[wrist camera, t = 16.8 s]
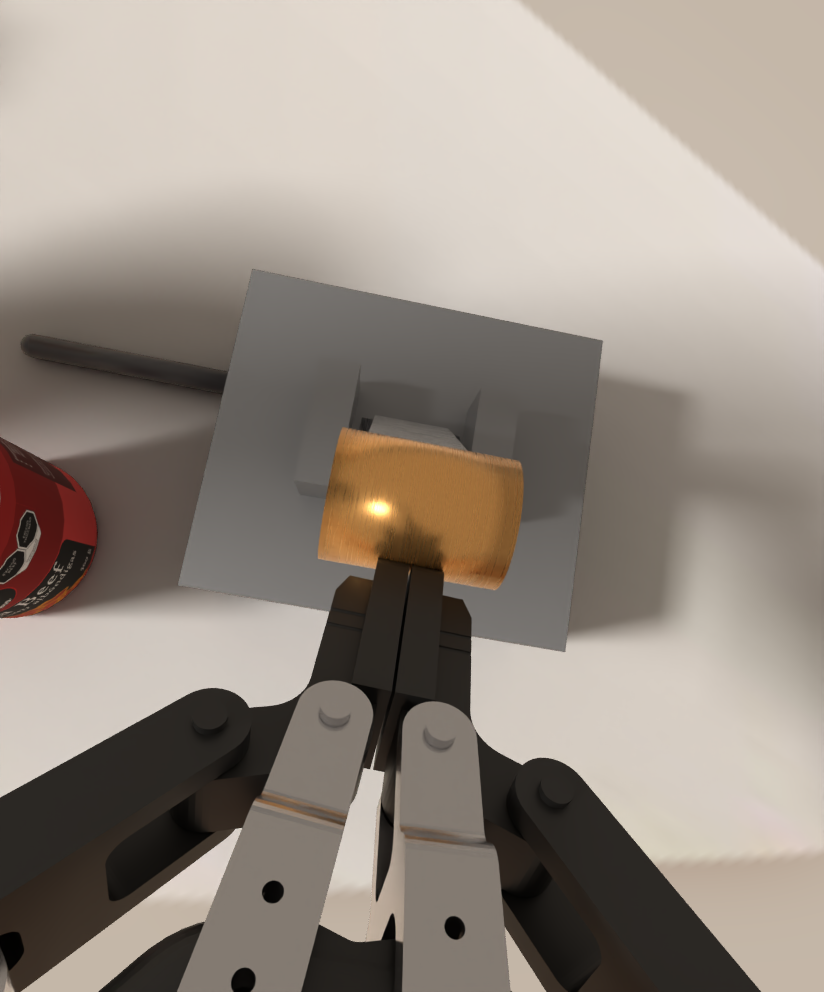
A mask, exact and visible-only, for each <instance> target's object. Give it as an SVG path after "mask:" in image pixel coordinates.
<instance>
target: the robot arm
mask: <svg viewBox="0 0 824 992" xmlns="http://www.w3.org/2000/svg"><path fill="white" fill-rule="evenodd" d="M409 568H410V564H406V563H401V562H396V561H391V560H387V559H382V558H378V561H377V565H376V569H375V574H374V578H373V580H369V579H364V578H360V577H355V576H351V575H350V576H349V577H348V578H347V579H346V580H345V581H344V582H343V583H342V584H341V585H340V586H339V587H338V588H337V589H336V591H335V594H334V598H333V601H332V605H331V609H330V612H329V616H328V619H327V623H326V626H325V630H324V633H323V637H322V640H321V644H320V648H319V651H318V655H317V658H316V662H315V665H314V669H313V672H312V676H311V679H310V682H309V684H308V685H307V687H306V688H305V689H304V691H303V692H302V693H301V694H299V695H298V696H297V697H295V698H294V699H292V700H290V701H288V702H285V703H283V704H279V705H274V706H266V707H254V708H249V707H248V705H247V704H246V702H245V701H244V700H243V699H242V698H241V697H240V696H238V695H237V694H235V693H233V692H231V691H228V690H224V689H218V688H208V689H202V690H198V691H195V692H192V693H190V694H188V695H186V696H184V697H183V698H181V699H179V700H177V701H175V702H174V703H172V704H170V705H168V706H166V707H164V708H163V709H161V710H159V711H157V712H155V713H154V714H152V715H150V716H148V717H146V718H144V719H143V720H141V721H139V722H137V723H135V724H133V725H132V726H130V727H128V728H126V729H124V730H123V731H121V732H119V733H117V734H115V735H113V736H112V737H110V738H108V739H106V740H104V741H103V742H101V743H99V744H97V745H95V746H93V747H92V748H90V749H88V750H86V751H84V752H83V753H81V754H79V755H77V756H75V757H73V758H72V759H70V760H68V761H66V762H64V763H63V764H61V765H59V766H57V767H55V768H53V769H52V770H50V771H48V772H46V773H44V774H43V775H41V776H39V777H37V778H35V779H33V780H32V781H30V782H28V783H26V784H24V785H22V786H21V787H19V788H17V789H15V790H13V791H12V792H10V793H8V794H6V795H4V796H2V797H1V798H0V992H21V991H22V990H23V989H25V988H26V987H27V986H29V985H30V984H32V983H33V982H34V981H36V980H37V979H38V978H40V977H41V976H42V975H44V974H45V973H46V972H48V971H49V970H50V969H52V968H53V967H54V966H56V965H57V964H58V963H59V962H61V961H62V960H64V959H65V958H66V957H68V956H69V955H70V954H72V953H73V952H74V951H76V950H77V949H78V948H80V947H81V946H82V945H84V944H85V943H86V942H88V941H89V940H90V939H92V938H93V937H94V936H96V935H97V934H99V933H100V932H101V931H103V930H104V929H105V928H106V927H108V926H109V925H111V924H112V923H113V922H115V921H116V920H117V919H119V918H120V917H121V916H122V915H124V914H125V913H127V912H128V911H129V910H131V909H132V908H133V907H135V906H136V905H137V904H139V903H140V902H141V901H143V900H144V899H145V898H147V897H148V896H149V895H151V894H152V893H153V892H155V891H156V890H157V889H159V888H160V887H161V886H163V885H164V884H166V883H167V882H168V881H170V880H171V879H172V878H174V877H175V876H176V875H178V874H179V873H180V872H182V871H183V870H184V869H186V868H187V867H188V866H190V865H191V864H192V863H194V862H195V861H196V860H198V859H199V858H200V857H202V856H203V855H204V854H206V853H207V852H208V851H210V850H211V849H212V848H214V847H215V846H216V845H218V844H219V843H220V842H222V841H223V840H224V839H226V838H227V837H228V836H229V835H230V834H231V833H232V832H233V831H234V830H235V829H237V828H242V830H241V833H240V835H239V838H238V840H237V843H236V845H235V848H234V850H233V853H232V855H231V858H230V860H229V863H228V865H227V868H226V870H225V873H224V875H223V878H222V880H221V883H220V885H219V888H218V890H217V893H216V895H215V898H214V900H213V903H212V905H211V908H210V911H209V913H208V915H207V918H206V921H205V922H202V923H198V924H195V925H193V926H190V927H187V928H184V929H182V930H180V931H178V932H176V933H174V934H172V935H170V936H168V937H166V938H165V939H163V940H162V941H160V942H159V943H157V944H156V945H154V946H153V947H151V948H150V949H148V950H147V951H146V952H145V953H143V954H142V955H141V956H140V957H138V958H137V959H136V960H135V961H134V962H133V963H131V964H130V965H129V966H128V967H127V968H126V969H124V970H123V971H122V972H121V973H120V974H119V975H118V976H116V977H115V978H114V979H113V980H111V981H110V982H109V983H108V984H107V985H106V986H104V987H103V988H102V989H101V990H100V991H99V992H512V991H510V982H509V970H508V959H507V949H506V938H505V927H506V929H507V931H508V932H509V934H510V935H511V937H512V938H513V940H514V941H515V943H516V945H517V946H518V948H519V949H520V951H521V953H522V954H523V956H524V957H525V959H526V960H527V962H528V964H529V965H530V967H531V968H532V969H533V971H534V973H535V974H536V976H537V978H538V979H539V981H540V982H541V984H542V985H543V987H544V989H545V990H546V992H761V991H760V990H759V989H758V988H757V986H756V985H755V984H754V983H753V982H752V981H751V980H750V978H749V977H748V976H747V975H746V973H745V972H744V971H743V970H742V969H741V968H740V966H739V965H738V964H737V963H736V961H735V960H734V959H733V958H732V957H731V955H730V954H729V953H728V952H727V951H726V950H725V948H724V947H723V946H722V945H721V944H720V942H719V941H718V940H717V939H716V938H715V936H714V935H713V934H712V933H711V932H710V930H709V929H708V928H707V927H706V926H705V924H704V923H703V922H702V921H701V920H700V918H699V917H698V916H697V915H696V914H695V913H694V911H693V910H692V909H691V908H690V907H689V905H688V904H687V903H686V902H685V901H684V899H683V898H682V897H681V896H680V895H679V893H678V892H677V891H676V890H675V889H674V887H673V886H672V885H671V884H670V883H669V882H668V880H667V879H666V878H665V877H664V876H663V874H662V873H661V872H660V871H659V870H658V868H657V867H656V866H655V865H654V864H653V862H652V861H651V860H650V859H649V858H648V856H647V855H646V854H645V853H644V852H643V851H642V849H641V848H640V847H639V846H638V845H637V843H636V842H635V841H634V840H633V839H632V837H631V836H630V835H629V834H628V833H627V831H626V830H625V829H624V828H623V827H622V825H621V824H620V823H619V822H618V821H617V820H616V818H615V817H614V816H613V815H612V814H611V812H610V811H609V810H608V809H607V808H606V806H605V805H604V804H603V803H602V802H601V800H600V799H599V798H598V797H597V796H596V795H595V793H594V792H593V791H592V790H591V789H590V787H589V786H588V785H587V784H586V783H585V781H584V780H583V779H582V778H581V777H580V776H579V775H578V774H577V773H576V772H575V771H574V770H573V769H572V768H570V767H569V766H567V765H566V764H564V763H562V762H559V761H557V760H554V759H549V758H536V759H532V760H530V761H528V762H526V763H525V764H523V765H521V764H519V763H517V762H515V761H513V760H511V759H509V758H507V757H506V756H504V755H502V754H500V753H498V752H497V751H495V750H493V749H492V748H491V747H490V746H488V745H487V744H486V743H485V742H484V741H483V740H482V739H481V737H480V736H479V735H478V733H477V732H476V730H475V728H474V726H473V723H472V720H471V716H470V689H471V656H470V655H471V633H472V617H471V615H470V613H469V611H468V609H467V607H466V605H465V603H464V601H463V599H458V598H453V597H449V596H444V595H443V585H444V572H443V571H438V570H434V569H429V568H425V567H420V566H415V565H412V568H411V570H410V573H409ZM408 575H409V577H408ZM376 745H377V748H376ZM375 749H376V755H375V761H374V768H373V770H377V771H382V772H385V774H384V781H383V788H382V793H381V797H380V800H379V803H378V807H377V813H376V829H375V844H374V860H373V876H372V892H371V907H370V917H369V923H368V928H367V934H366V941H365V942H353V941H350V940H348V939H346V938H344V937H342V936H340V935H338V934H336V933H334V932H332V931H331V930H329V929H327V928H325V927H323V926H321V925H319V922H320V918H321V914H322V910H323V907H324V903H325V899H326V895H327V891H328V888H329V884H330V880H331V876H332V872H333V869H334V865H335V861H336V857H337V853H338V850H339V846H340V842H341V838H342V834H343V831H344V827H345V823H346V819H347V815H348V811H349V808H350V804H351V803H352V802H353V800H354V798H355V796H356V794H357V790H358V787H359V783H360V779H361V775H362V772H363V768H367V769H370V767H371V763H372V760H373V756H374V753H375ZM504 926H505V927H504Z"/></svg>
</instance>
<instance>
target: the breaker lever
mask: <svg viewBox="0 0 824 992" xmlns="http://www.w3.org/2000/svg"><path fill="white" fill-rule="evenodd" d="M523 490H524V480H523V470H522V466H521V463H520V462H519V461H518V460H513V459H508V458H503V457H497V456H492V455H487V454H482V453H476V452H471V451H468V450H467V449H466V448H465V447H464V446H463V445H462V444H461V442H460V436H457V435H454V434H453V433H452V432H451V431H450V430H449V429H447V428H442V427H437V426H431V425H426V424H421V423H416V422H411V421H405V420H400V419H395V418H390V417H385V416H379V415H375V417H374V419H369V418H364V417H362V419H361V424H360V429H359V430H356V429H351V428H345V427H342V429H341V432H340V435H339V439H338V443H337V447H336V451H335V455H334V460H333V464H332V469H331V474H330V479H329V484H328V489H327V494H326V500H325V506H324V511H323V517H322V524H321V531H320V538H319V546H318V559H321V560H327V561H333V562H338V563H344V564H350V565H355V566H361V567H366V568H372V569H376V565H377V561H378V558H382V559H387V560H391V561H396V562H401V563H406V564H410V568H409V573H410V570H411V568H412V565H415V566H420V567H425V568H429V569H434V570H438V571H443V572H444V581H445V582H451V583H457V584H462V585H468V586H473V587H479V588H485V589H490V590H496V589H498V588H499V587H500V585H501V584H502V582H503V580H504V578H505V576H506V574H507V571H508V569H509V566H510V563H511V560H512V557H513V553H514V549H515V545H516V541H517V536H518V532H519V526H520V520H521V513H522V505H523Z"/></svg>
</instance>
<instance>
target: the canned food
mask: <svg viewBox="0 0 824 992" xmlns="http://www.w3.org/2000/svg"><path fill="white" fill-rule="evenodd" d="M97 533H98V532H97V524H96V518H95V515H94V512H93V509H92V506H91V503H90V500H89V499H88V497H87V495H86V494H85V492H84V490H83V488H82V487H81V486H80V485H79V484H78V483H77V482H76V481H75V480H74V479H73V478H72V477H71V476H70V475H68V474H67V473H66V472H64V471H63V470H61V469H60V468H58V467H56V466H54V465H52V464H50V463H48V462H46V461H45V460H43V459H41V458H39V457H37V456H35V455H33V454H31V453H29V452H27V451H26V450H24V449H22V448H20V447H18V446H16V445H14V444H12V443H10V442H8V441H7V440H5V439H3V438H1V437H0V618H18V617H23V616H28V615H33V614H35V613H38V612H40V611H43V610H45V609H48V608H50V607H51V606H53V605H54V604H56V603H57V602H59V601H61V600H62V599H63V598H64V597H66V596H67V595H68V594H69V593H70V592H71V591H72V590H73V589H74V588H75V587H77V585H78V584H79V583H80V581H81V580H82V579H83V577H84V576H85V575H86V573H87V571H88V569H89V567H90V565H91V563H92V561H93V557H94V554H95V550H96V546H97Z"/></svg>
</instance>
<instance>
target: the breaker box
mask: <svg viewBox="0 0 824 992" xmlns="http://www.w3.org/2000/svg"><path fill="white" fill-rule="evenodd" d="M602 343H603V341H602V340H597V339H592V338H587V337H582V336H577V335H572V334H567V333H563V332H558V331H553V330H548V329H543V328H538V327H533V326H528V325H523V324H519V323H514V322H509V321H504V320H499V319H494V318H489V317H484V316H479V315H475V314H470V313H465V312H460V311H455V310H450V309H445V308H440V307H435V306H431V305H426V304H421V303H416V302H411V301H406V300H401V299H396V298H391V297H387V296H382V295H377V294H372V293H367V292H362V291H357V290H352V289H347V288H343V287H338V286H333V285H328V284H323V283H318V282H313V281H308V280H303V279H299V278H294V277H289V276H284V275H279V274H274V273H269V272H264V271H259V270H255V269H252V273H251V277H250V282H249V286H248V290H247V294H246V299H245V303H244V307H243V311H242V315H241V320H240V324H239V328H238V332H237V337H236V341H235V345H234V349H233V354H232V358H231V362H230V366H229V370H228V372H226V371H221V370H216V369H211V368H206V367H200V366H195V365H190V364H185V363H180V362H175V361H169V360H164V359H159V358H154V357H149V356H144V355H139V354H133V353H128V352H123V351H118V350H113V349H108V348H102V347H97V346H92V345H87V344H82V343H77V342H72V341H66V340H61V339H56V338H51V337H46V336H41V335H36V334H30V335H27V336H25V337H24V338H23V339H22V341H21V348H22V350H23V352H24V353H25V354H26V355H28V356H30V357H34V358H40V359H45V360H50V361H55V362H60V363H66V364H71V365H76V366H81V367H87V368H92V369H97V370H102V371H107V372H113V373H118V374H123V375H128V376H133V377H139V378H144V379H149V380H154V381H159V382H165V383H170V384H175V385H180V386H186V387H191V388H196V389H201V390H206V391H212V392H217V393H222V394H223V396H222V400H221V404H220V408H219V413H218V417H217V421H216V425H215V430H214V434H213V438H212V442H211V446H210V451H209V455H208V459H207V463H206V468H205V472H204V476H203V480H202V485H201V489H200V493H199V497H198V501H197V506H196V510H195V514H194V518H193V523H192V527H191V531H190V535H189V539H188V544H187V548H186V552H185V556H184V561H183V565H182V569H181V573H180V578H179V582H178V585H179V586H185V587H190V588H196V589H202V590H207V591H213V592H218V593H224V594H230V595H236V596H242V597H247V598H253V599H259V600H265V601H271V602H276V603H282V604H288V605H294V606H300V607H305V608H311V609H317V610H323V611H329V612H330V609H331V605H332V601H333V598H334V594H335V591H336V589H337V588H338V587H339V586H340V585H341V584H342V583H343V582H344V581H345V580H346V579H347V578H348V577H349V576H350V575H351V576H355V577H360V578H364V579H369V580H373V578H374V574H375V569H372V568H366V567H361V566H355V565H350V564H344V563H338V562H333V561H327V560H321V559H318V546H319V538H320V531H321V524H322V517H323V511H324V506H325V500H326V494H327V489H328V484H329V479H330V474H331V469H332V464H333V460H334V455H335V451H336V447H337V443H338V439H339V435H340V432H341V429H342V427H345V428H351V429H356V430H359V429H360V424H361V419H362V417H364V418H369V419H374V417H375V415H379V416H385V417H390V418H395V419H400V420H405V421H411V422H416V423H421V424H426V425H431V426H437V427H442V428H447V429H449V430H450V431H451V432H452V433H453V434H454V435H457V436H460V442H461V444H462V445H463V446H464V447H465V448H466V449H467V450H468V451H471V452H476V453H482V454H487V455H492V456H497V457H503V458H508V459H513V460H518V461H519V462H520V463H521V466H522V470H523V480H524V490H523V505H522V513H521V520H520V526H519V532H518V536H517V541H516V545H515V549H514V553H513V557H512V560H511V563H510V566H509V569H508V571H507V574H506V576H505V578H504V580H503V582H502V584H501V585H500V587H499V588H498V589H496V590H490V589H485V588H479V587H473V586H468V585H462V584H457V583H451V582H445V581H444V585H443V595H444V596H449V597H453V598H458V599H463V601H464V603H465V605H466V607H467V609H468V611H469V613H470V615H471V617H472V633H471V636H473V637H479V638H485V639H491V640H497V641H502V642H508V643H514V644H520V645H526V646H532V647H538V648H544V649H550V650H556V651H562V652H565V649H566V641H567V632H568V624H569V616H570V608H571V599H572V591H573V583H574V575H575V566H576V558H577V550H578V541H579V533H580V525H581V517H582V508H583V500H584V492H585V484H586V475H587V467H588V459H589V450H590V442H591V434H592V426H593V417H594V409H595V401H596V393H597V384H598V376H599V368H600V359H601V351H602ZM408 577H409V575H408Z"/></svg>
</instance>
